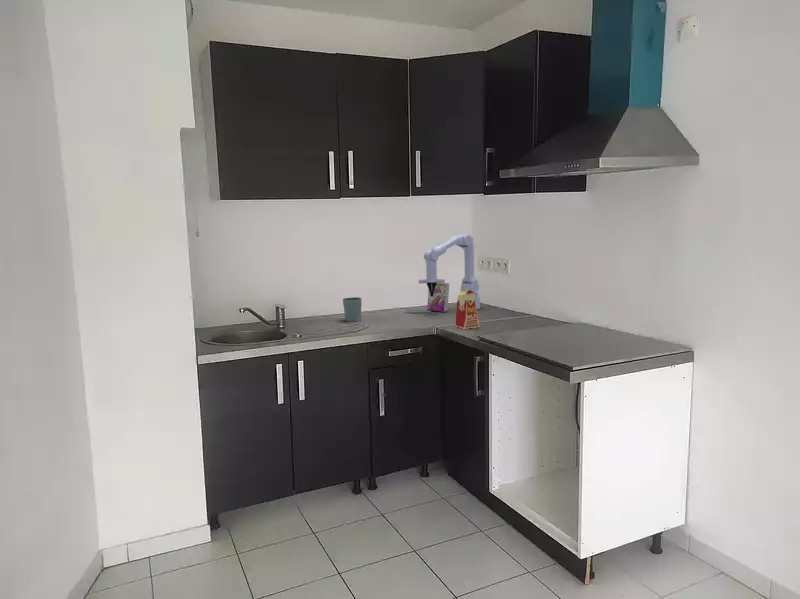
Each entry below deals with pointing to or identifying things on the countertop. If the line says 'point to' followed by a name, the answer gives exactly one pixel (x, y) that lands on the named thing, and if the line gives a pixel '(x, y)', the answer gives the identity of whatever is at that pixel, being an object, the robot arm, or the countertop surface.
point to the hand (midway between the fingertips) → (431, 296)
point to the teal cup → (352, 309)
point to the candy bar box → (439, 298)
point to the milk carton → (466, 310)
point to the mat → (417, 311)
